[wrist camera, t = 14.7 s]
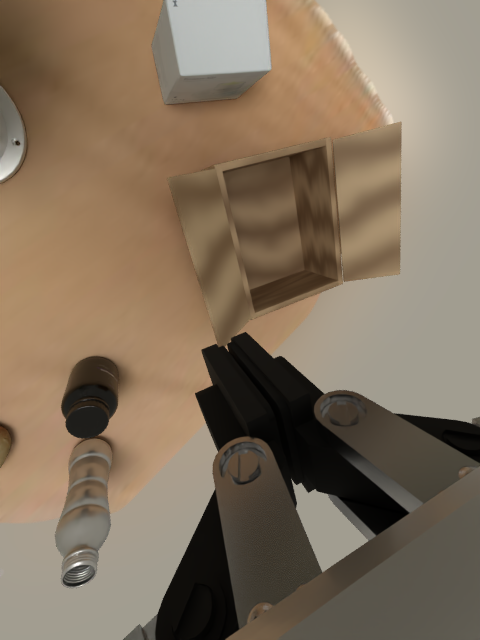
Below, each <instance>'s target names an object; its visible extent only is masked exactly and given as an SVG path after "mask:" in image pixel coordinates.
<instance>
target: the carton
mask: <svg viewBox="0 0 480 640" xmlns="http://www.w3.org/2000/svg"><path fill="white" fill-rule="evenodd" d="M211 169H216V172H217V176H218V180H219V185H220V189H221V193H222V197H223V201H224V206H225V210H226V214H227V218H228V222H229V227H230V231H231V235H232V239H233V244H234V248H235V252H236V256H237V260H238V265H239V269H240V273H241V277H242V281H243V286H244V290H245V294H246V298H247V302H248V307H249V311H250V315H251V319H250V320H252V319H255V318H257V317H260V316H262V315H265V314H267V313H270V312H272V311H275V310H278V309H280V308H283V307H285V306H288V305H290V304H293V303H295V302H298V301H300V300H303V299H305V298H308V297H310V296H313V295H316V294H318V293H321V292H323V291H325V290H328V289H331V288H333V287H336V286H338V285H341V284H343V280H342V267H341V255H340V242H339V230H338V218H337V205H336V193H335V180H334V168H333V156H332V143H331V137H329V138H324V139H320V140H316V141H312V142H308V143H304V144H299V145H295V146H291V147H287V148H283V149H279V150H275V151H270V152H266V153H262V154H258V155H254V156H250V157H245V158H241V159H237V160H233V161H229V162H225V163H220V164H216V165H213V166H211V167H209V168H206V169H204V170H202V171H206V170H211Z"/></svg>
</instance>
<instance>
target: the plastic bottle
mask: <svg viewBox="0 0 480 640" xmlns="http://www.w3.org/2000/svg"><path fill="white" fill-rule="evenodd" d="M112 458H113V457H112V451H111V448H110V446H109V444H108V443H107V442H105V441H103V440H101V439H96V438H93V439H88V440H85V441H83V442H81V443H80V444H78V445H77V446H76V447H75V448H74V450H73V452H72V454H71V456H70V458H69V463H68V469H69V486H68V493H67V497H66V501H65V505H64V508H63V511H62V514H61V517H60V519H59V522H58V525H57V529H56V532H55V541H56V547H57V549H58V550H59V552H60V554H61V555H62V556H63V557H64V560H63V562H62V575H61V583H62V585H63V586H65V587H67V588H77V587H81V586H83V585H86V584H87V583H89V582H90V581H91V580H92V579H93V578H94V577H95V575H96V572H97V562H98V558H99V554H98V550H99V549H100V548H101V546H102V545H103V543H104V542H105V540H106V538H107V536H108V533H109V530H110V526H111V523H110V512H109V505H108V492H107V484H108V477H109V471H110V468H111V464H112Z"/></svg>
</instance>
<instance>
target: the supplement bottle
mask: <svg viewBox="0 0 480 640" xmlns="http://www.w3.org/2000/svg"><path fill="white" fill-rule="evenodd" d="M118 384H119V375H118V370H117V368H116V366H115V365H114V364H113V363H112V362H111V361H109V360H107V359H105V358H101V357H90V358H87V359H84V360H82V361H80V362H79V363H78V364H77V365H76V366H75V367H74V368H73V370H72V372H71V375H70V377H69V381H68V384H67V387H66V390H65V393H64V396H63V400H62V404H61V410H62V413H63V416H64V417H65V419H66V427H67V430H68V432H69V433H70V434H71V435H73V436H75V437H77V438H85V439H86V438H91V437H95V436H97V435H99V434H101V433H102V432H103V431H104V430H105V429H106V427H107V425H108V422H109V419H110V418H111V417H112V416H113V415H114V413H115V412H116V410H117V406H118Z"/></svg>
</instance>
